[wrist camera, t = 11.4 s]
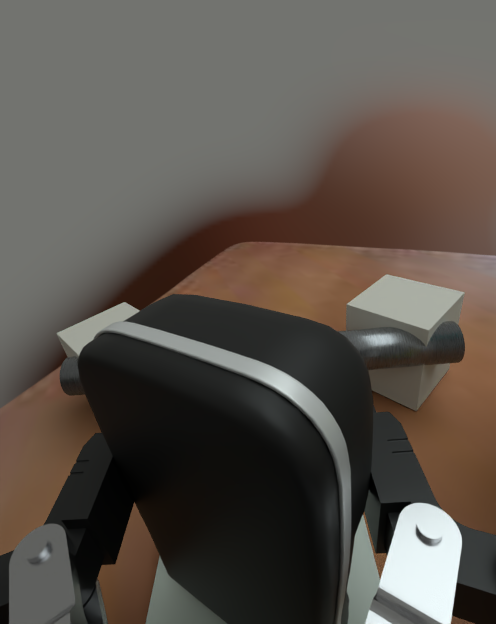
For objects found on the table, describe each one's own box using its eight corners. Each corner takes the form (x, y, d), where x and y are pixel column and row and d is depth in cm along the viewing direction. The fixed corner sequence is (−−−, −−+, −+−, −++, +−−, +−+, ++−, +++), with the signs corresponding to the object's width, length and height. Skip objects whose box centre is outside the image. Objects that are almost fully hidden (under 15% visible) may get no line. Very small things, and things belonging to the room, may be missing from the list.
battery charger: (372, 582, 13) (401, 307, 7) (332, 713, 10) (329, 440, 5) (220, 494, 17) (162, 267, 11) (162, 574, 14) (46, 328, 8)
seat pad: (350, 483, 18) (351, 469, 18) (433, 817, 10) (440, 810, 9) (180, 493, 19) (175, 480, 19) (120, 813, 11) (107, 807, 10)
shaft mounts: (427, 339, 28) (438, 268, 25) (476, 406, 22) (498, 323, 19) (105, 368, 30) (79, 306, 27) (67, 437, 24) (27, 367, 21)
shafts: (441, 346, 22) (447, 313, 21) (460, 371, 20) (468, 336, 19) (86, 377, 24) (72, 349, 23) (70, 403, 22) (54, 373, 21)
